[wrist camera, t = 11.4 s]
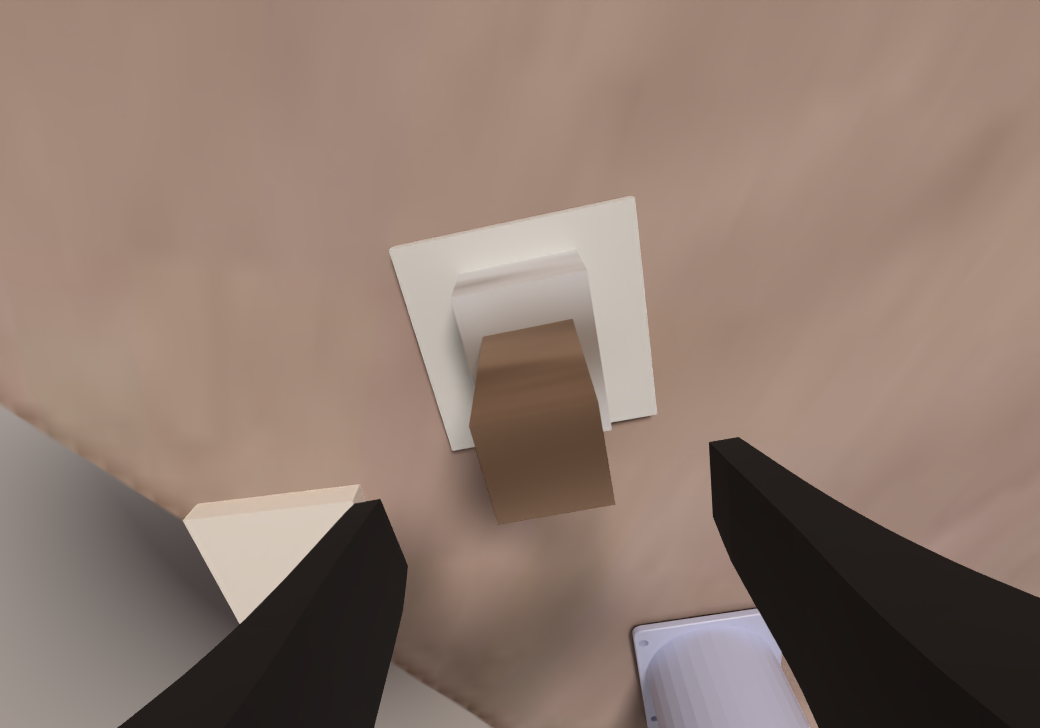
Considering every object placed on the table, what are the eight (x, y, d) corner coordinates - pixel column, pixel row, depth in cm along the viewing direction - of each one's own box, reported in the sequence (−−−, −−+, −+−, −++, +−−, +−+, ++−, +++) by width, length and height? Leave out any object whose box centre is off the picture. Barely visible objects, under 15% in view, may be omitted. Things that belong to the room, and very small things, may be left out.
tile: (390, 609, 25) (240, 624, 26) (397, 583, 27) (254, 598, 27) (352, 501, 22) (182, 520, 23) (362, 478, 24) (202, 497, 24)
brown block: (599, 390, 21) (649, 544, 13) (495, 410, 21) (485, 570, 13) (576, 249, 18) (621, 335, 11) (459, 273, 19) (420, 374, 11)
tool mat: (653, 407, 22) (657, 414, 21) (453, 443, 22) (452, 450, 22) (631, 195, 18) (634, 197, 18) (392, 246, 19) (388, 249, 18)
